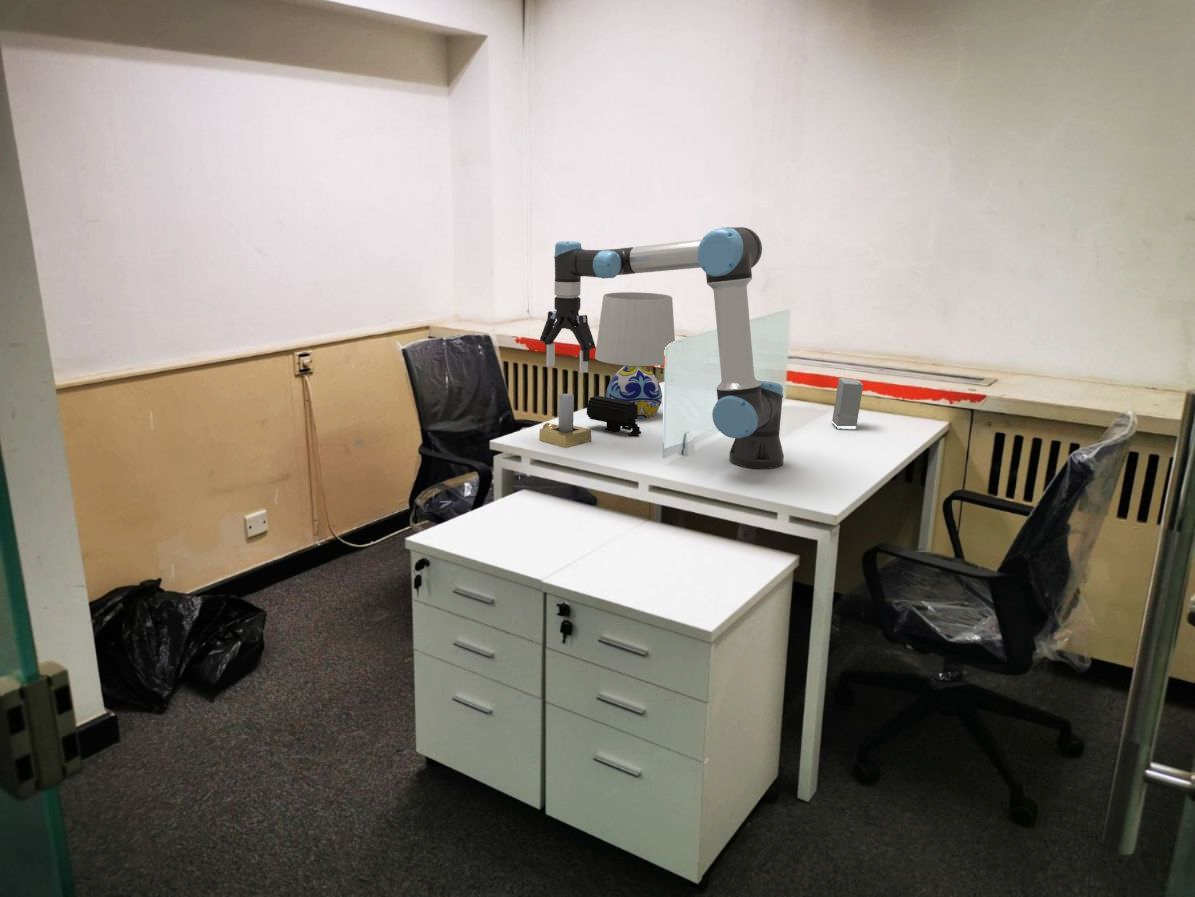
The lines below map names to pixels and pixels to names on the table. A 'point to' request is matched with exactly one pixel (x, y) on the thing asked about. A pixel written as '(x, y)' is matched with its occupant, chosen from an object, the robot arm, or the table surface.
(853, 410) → the skincare box
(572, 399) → the grey rounded cylinder
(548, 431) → the gold square frame
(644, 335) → the table lamp
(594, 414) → the security camera
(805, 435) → the table surface
